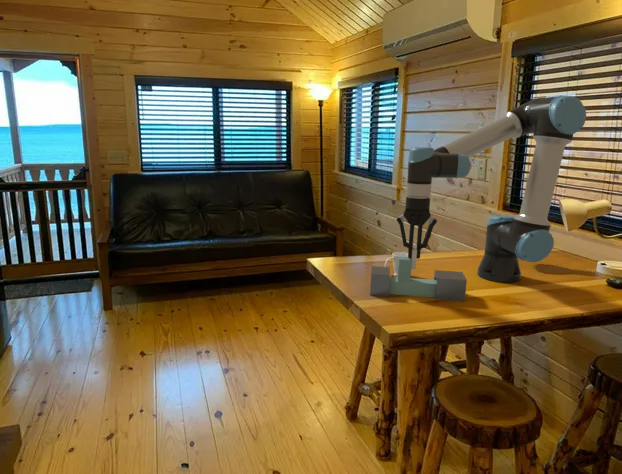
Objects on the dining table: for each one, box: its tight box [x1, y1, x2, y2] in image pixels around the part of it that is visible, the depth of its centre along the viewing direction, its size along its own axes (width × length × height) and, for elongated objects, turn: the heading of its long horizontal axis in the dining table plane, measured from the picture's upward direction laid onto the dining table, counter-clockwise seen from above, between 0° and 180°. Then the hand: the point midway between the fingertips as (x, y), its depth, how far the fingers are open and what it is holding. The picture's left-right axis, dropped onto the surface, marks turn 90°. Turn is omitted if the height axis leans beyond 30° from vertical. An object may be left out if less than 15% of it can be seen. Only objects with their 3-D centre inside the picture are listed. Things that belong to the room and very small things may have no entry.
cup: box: [383, 251, 408, 277], centre depth 175 cm, size 7×10×8 cm
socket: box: [369, 265, 391, 297], centre depth 158 cm, size 6×9×7 cm
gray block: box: [433, 269, 468, 303], centre depth 154 cm, size 9×9×7 cm
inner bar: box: [389, 256, 437, 298], centre depth 155 cm, size 21×4×12 cm, turn 81°
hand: (413, 267), depth 155 cm, fingers closed
